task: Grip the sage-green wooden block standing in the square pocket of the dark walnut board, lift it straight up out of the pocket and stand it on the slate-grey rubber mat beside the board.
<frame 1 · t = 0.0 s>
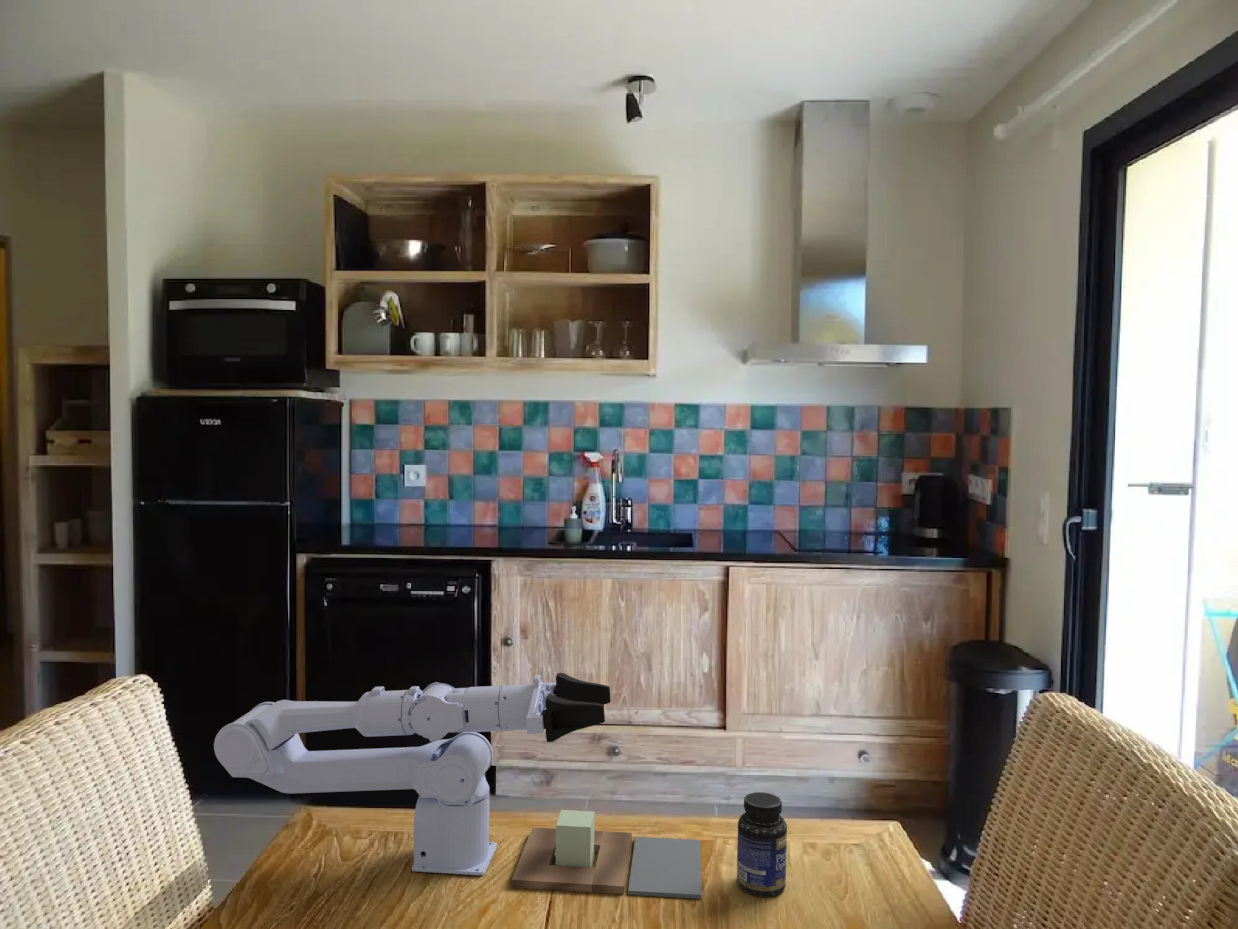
hand: (607, 703, 112), 22 cm above the table, tool horizontal, fingers open, 7 cm apart
sage block: (575, 863, 114), resting in pocket board
mat: (666, 867, 113), on the table
pill bottle: (760, 887, 109), on the table
pocket board: (575, 862, 114), on the table
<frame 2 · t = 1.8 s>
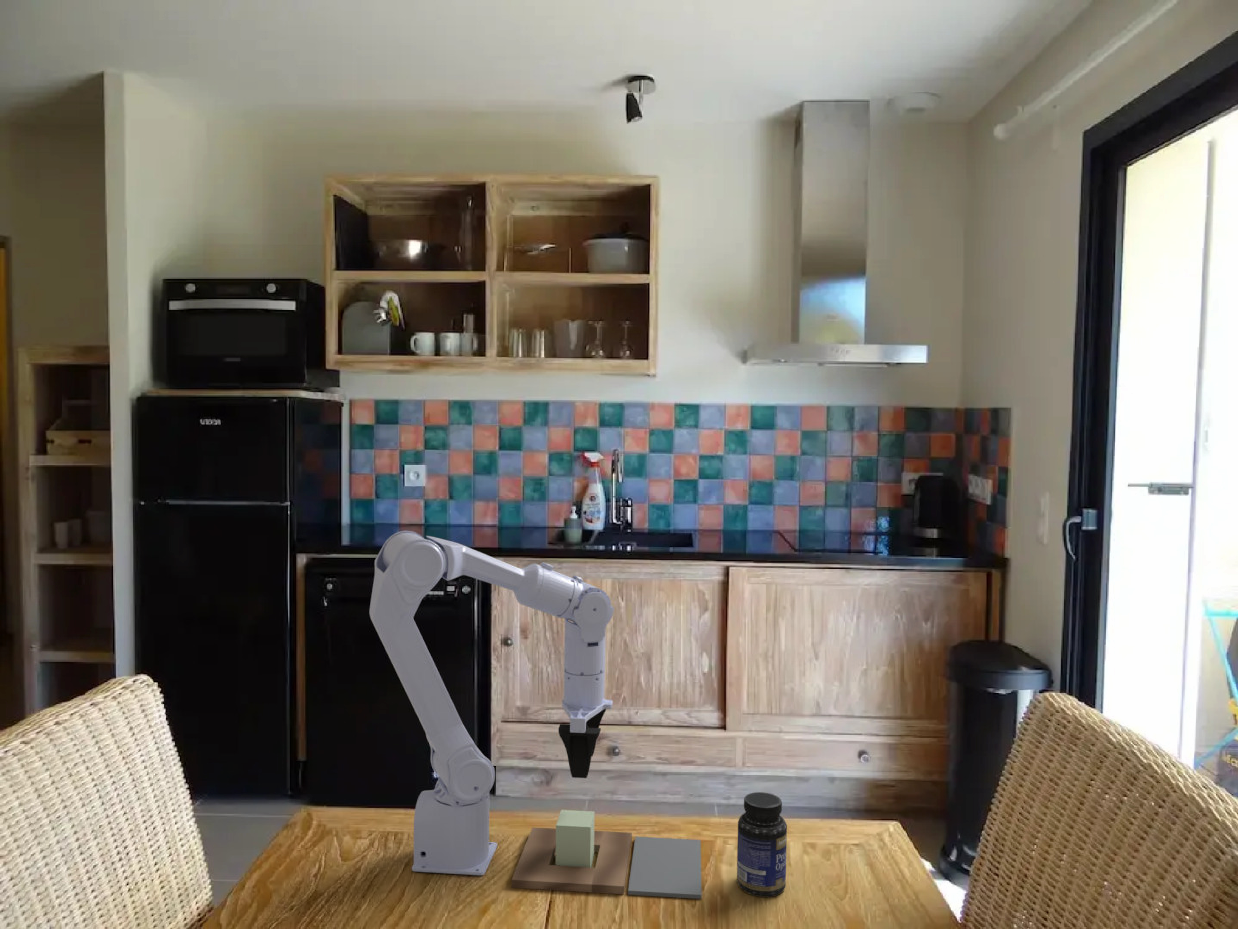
hand: (582, 765, 121), 10 cm above the table, tool pointing down, fingers open, 7 cm apart
nothing on the table moved.
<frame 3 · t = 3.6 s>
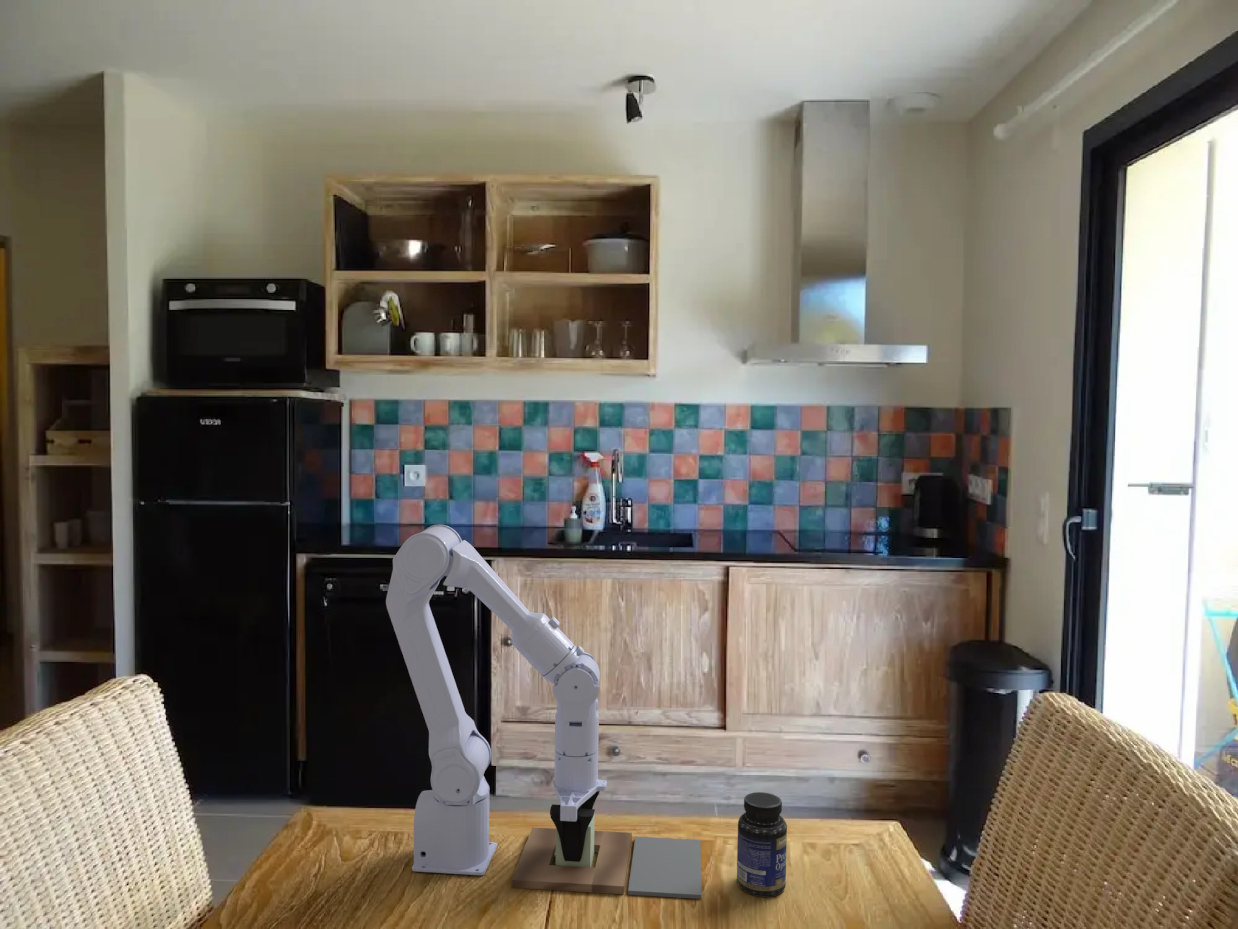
hand: (575, 850, 114), 2 cm above the table, tool pointing down, fingers closed on sage block, 4 cm apart
sage block: (575, 862, 114), resting in pocket board, touching gripper
everything else where it was.
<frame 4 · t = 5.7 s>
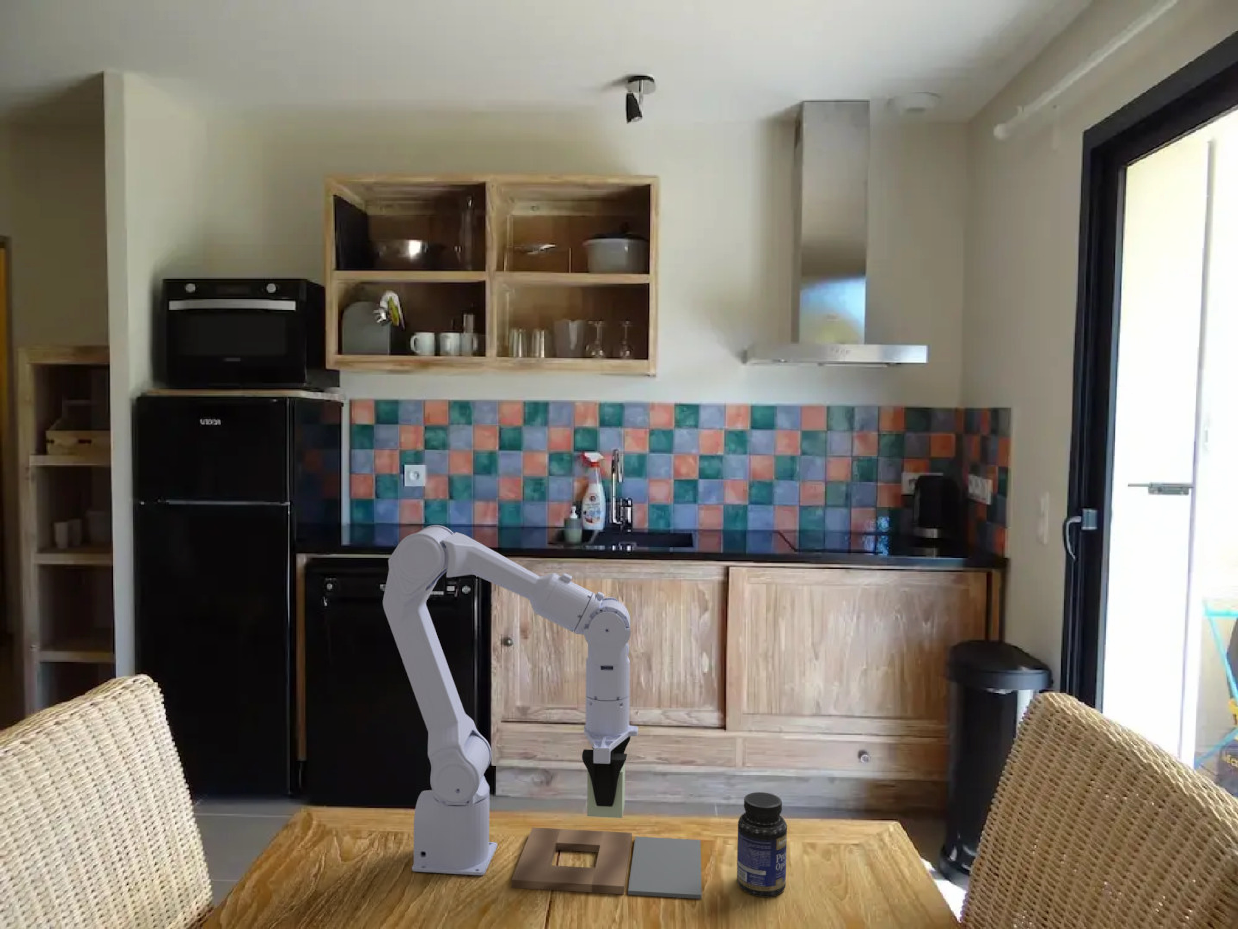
hand: (606, 796, 113), 9 cm above the table, tool pointing down, fingers closed on sage block, 4 cm apart
sage block: (606, 809, 113), point 7 cm above the table, touching gripper
everything else where it was.
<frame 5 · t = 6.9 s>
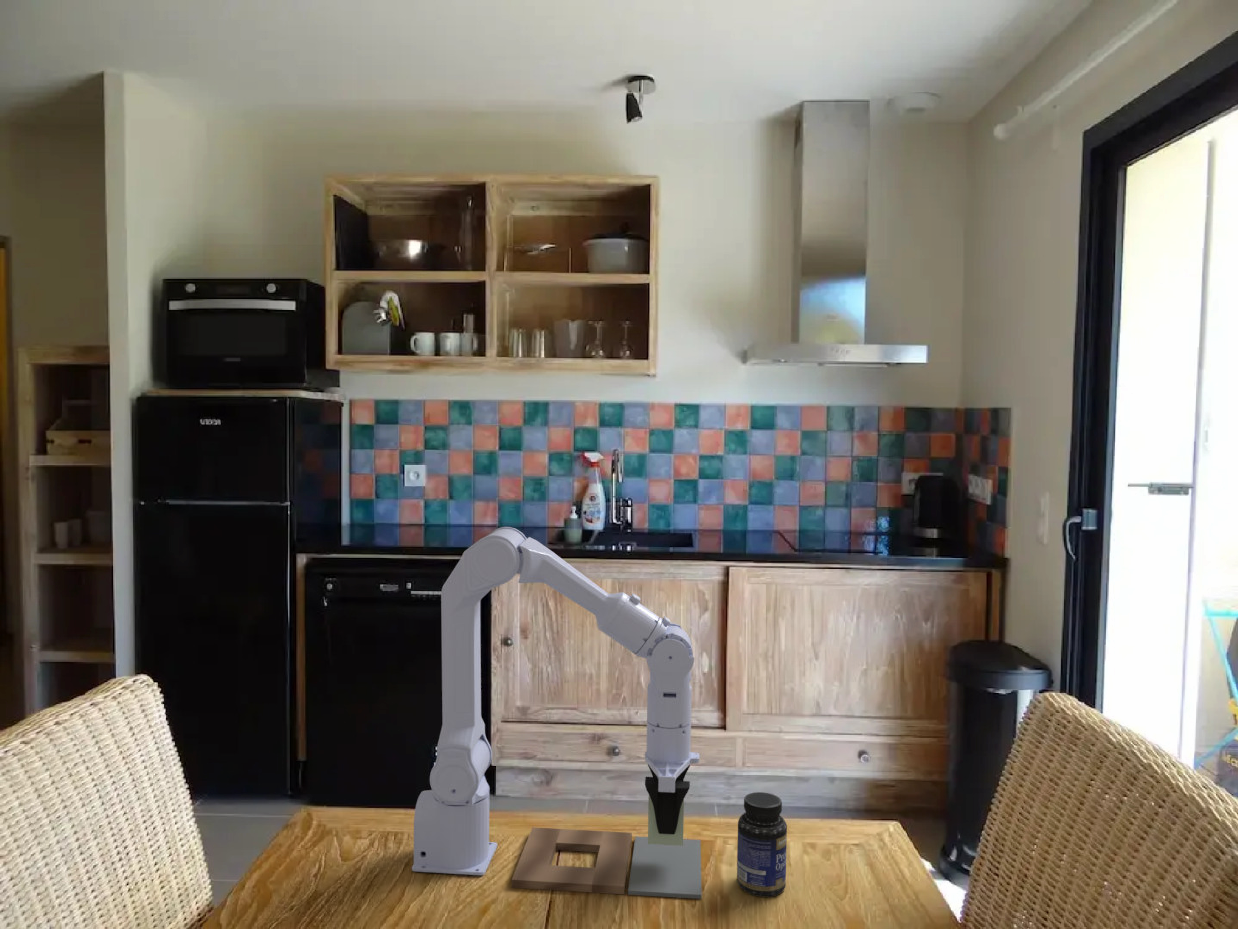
hand: (667, 823, 113), 6 cm above the table, tool pointing down, fingers closed on sage block, 4 cm apart
sage block: (666, 836, 113), point 4 cm above the table, touching gripper
everything else where it was.
when the fingers open (4 cm above the table, at t = 7.7 s): sage block drops 1 cm, resting on mat.
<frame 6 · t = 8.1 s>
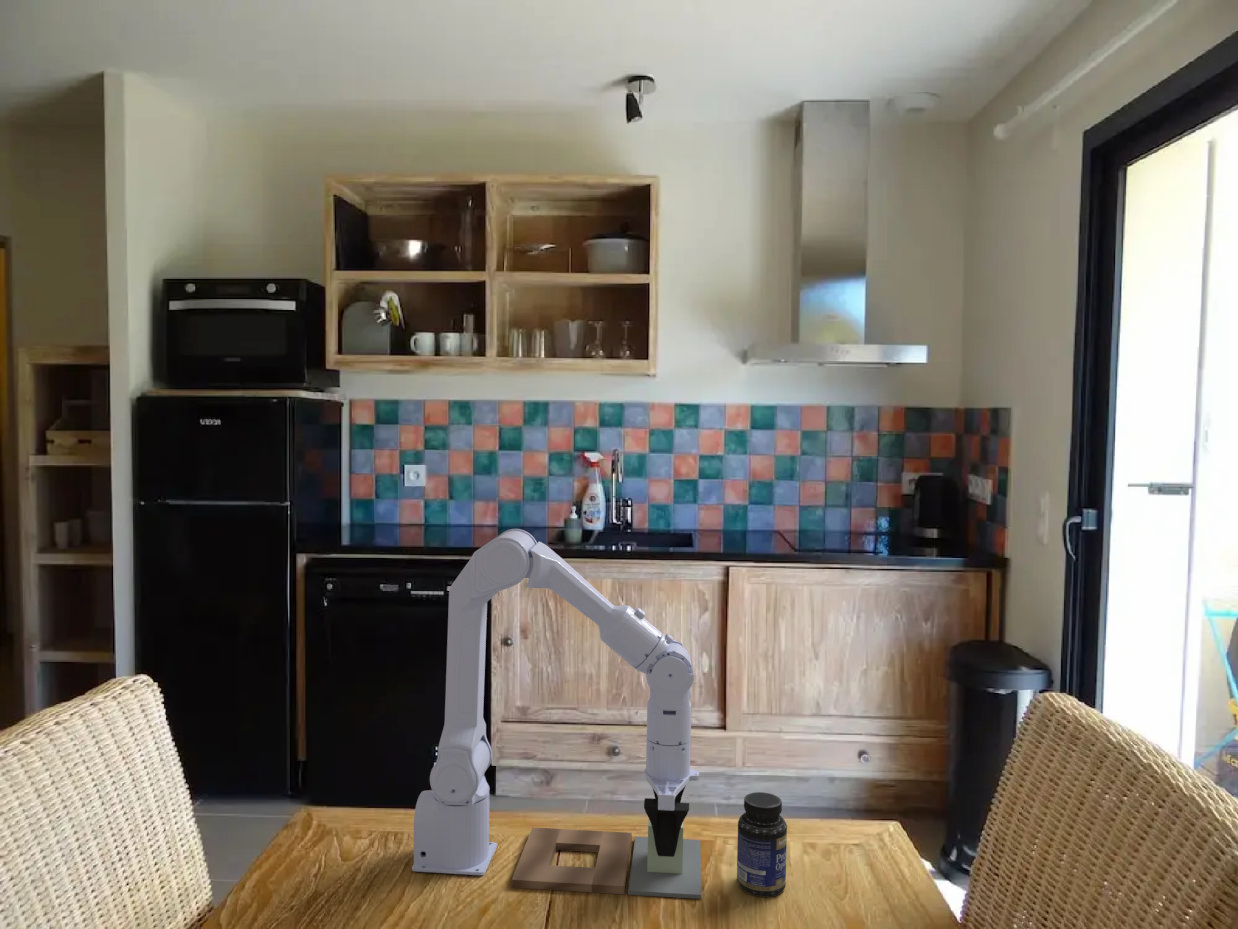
hand: (666, 840, 113), 4 cm above the table, tool pointing down, fingers open, 7 cm apart
sage block: (665, 863, 113), resting on mat
everything else where it was.
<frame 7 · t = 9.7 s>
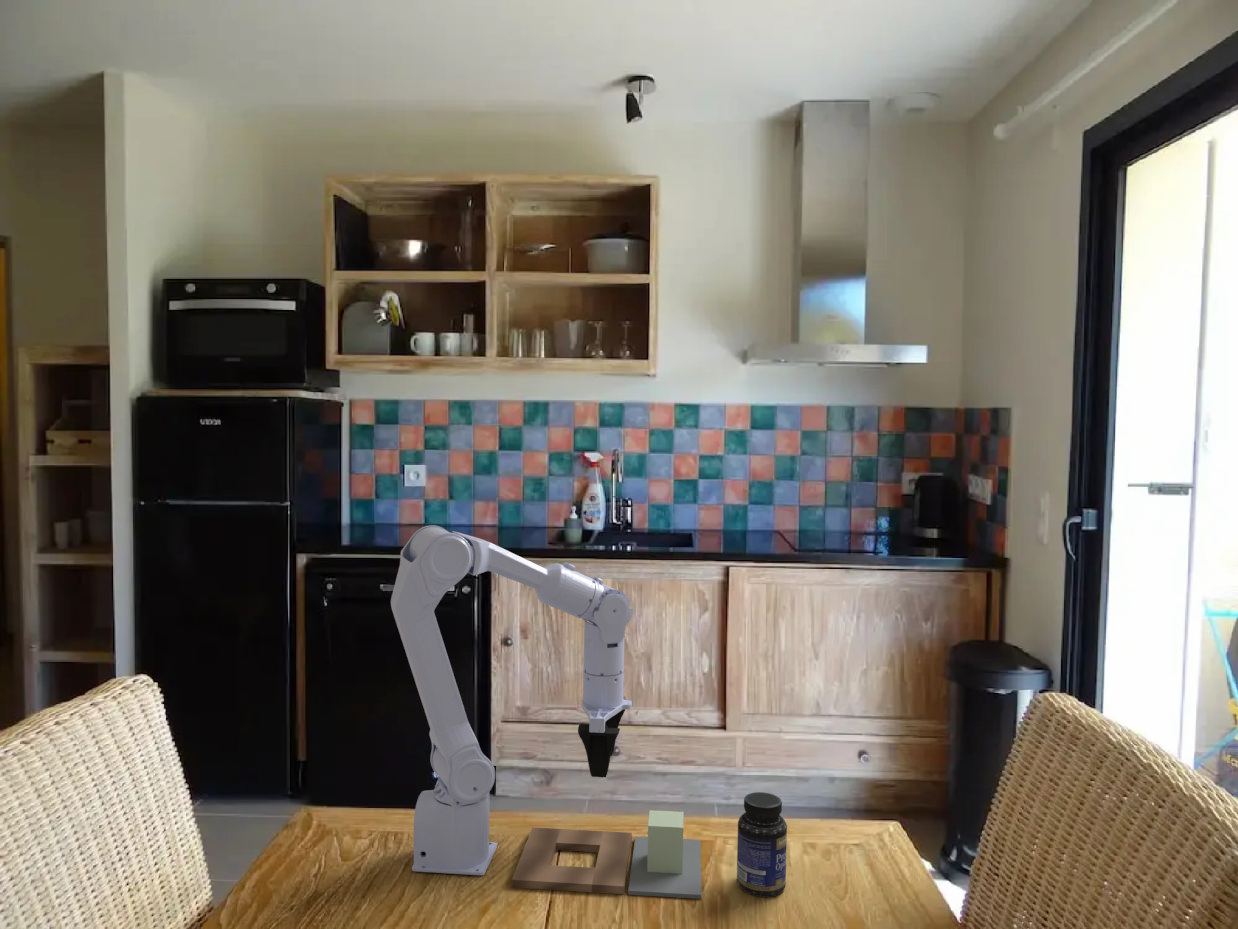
hand: (602, 765, 123), 9 cm above the table, tool pointing down, fingers open, 7 cm apart
nothing on the table moved.
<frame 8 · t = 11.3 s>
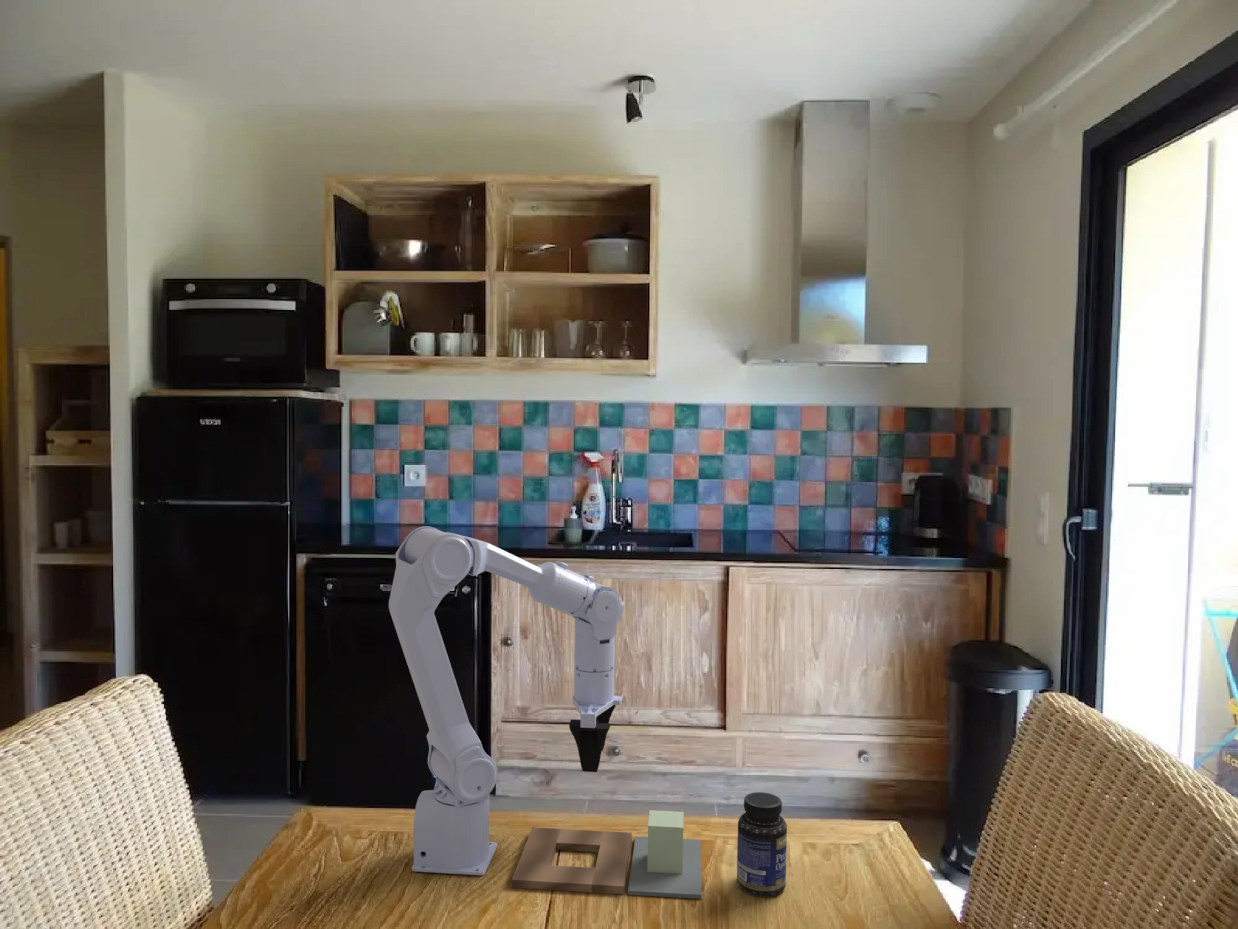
hand: (593, 760, 124), 9 cm above the table, tool pointing down, fingers open, 7 cm apart
nothing on the table moved.
at the end: sage block 0.1 cm off-centre on the mat, point 0.5 cm above the mat's base; sage block tilted 0°; the gripper is holding nothing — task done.
